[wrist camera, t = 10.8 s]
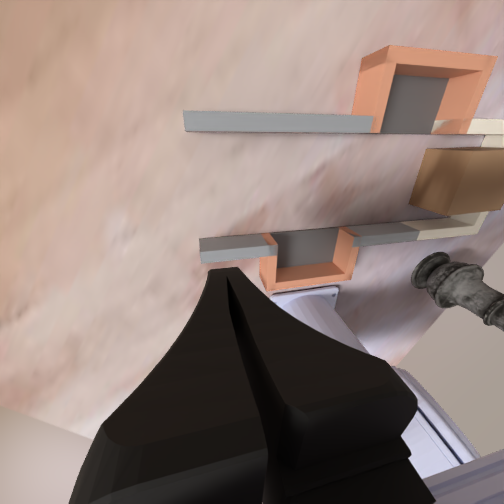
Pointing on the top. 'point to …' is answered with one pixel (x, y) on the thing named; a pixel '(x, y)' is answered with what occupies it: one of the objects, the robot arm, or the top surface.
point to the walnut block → (460, 180)
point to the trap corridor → (364, 122)
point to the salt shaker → (459, 287)
